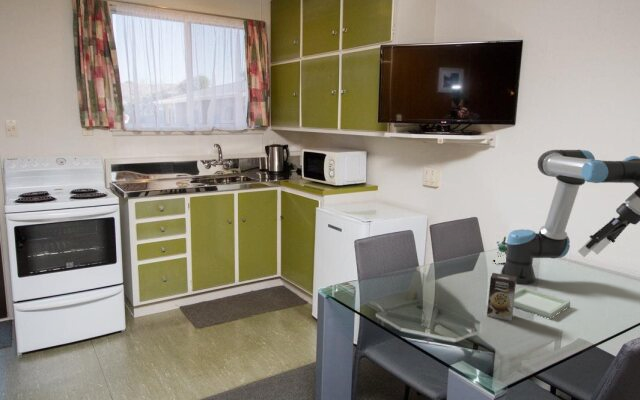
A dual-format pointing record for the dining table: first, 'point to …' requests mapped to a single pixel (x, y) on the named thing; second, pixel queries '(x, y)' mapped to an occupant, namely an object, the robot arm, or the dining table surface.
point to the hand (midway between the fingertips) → (587, 253)
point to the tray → (539, 303)
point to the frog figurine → (502, 247)
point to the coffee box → (501, 296)
